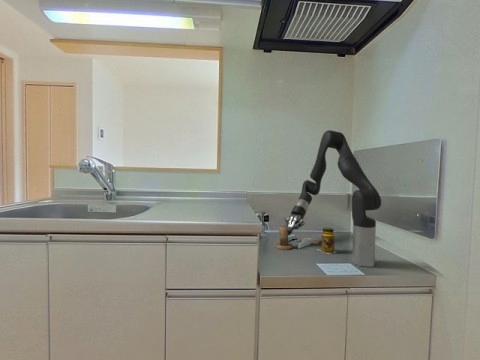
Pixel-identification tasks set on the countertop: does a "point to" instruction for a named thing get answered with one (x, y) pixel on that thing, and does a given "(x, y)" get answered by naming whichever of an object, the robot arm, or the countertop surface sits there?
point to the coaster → (313, 240)
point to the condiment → (327, 241)
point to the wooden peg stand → (284, 239)
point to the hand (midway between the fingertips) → (287, 233)
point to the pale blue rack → (301, 241)
